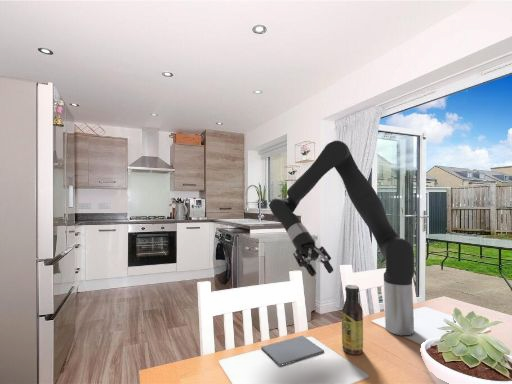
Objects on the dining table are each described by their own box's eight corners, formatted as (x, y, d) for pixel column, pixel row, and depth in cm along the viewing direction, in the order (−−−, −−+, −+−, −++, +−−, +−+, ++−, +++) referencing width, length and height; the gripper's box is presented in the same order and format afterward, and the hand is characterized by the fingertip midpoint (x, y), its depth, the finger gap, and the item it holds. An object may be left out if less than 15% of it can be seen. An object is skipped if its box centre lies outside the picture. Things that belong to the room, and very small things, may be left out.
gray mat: (302, 337, 95) (302, 335, 95) (324, 352, 85) (323, 350, 85) (261, 348, 87) (261, 346, 87) (279, 366, 78) (279, 364, 78)
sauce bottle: (338, 346, 88) (337, 283, 89) (357, 345, 89) (355, 282, 90) (347, 357, 82) (346, 289, 83) (367, 355, 83) (365, 288, 84)
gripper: (290, 232, 101) (313, 269, 90) (318, 230, 108) (342, 264, 98) (281, 245, 105) (302, 282, 95) (309, 242, 113) (331, 276, 102)
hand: (323, 273), depth 96 cm, fingers open, 8 cm apart
